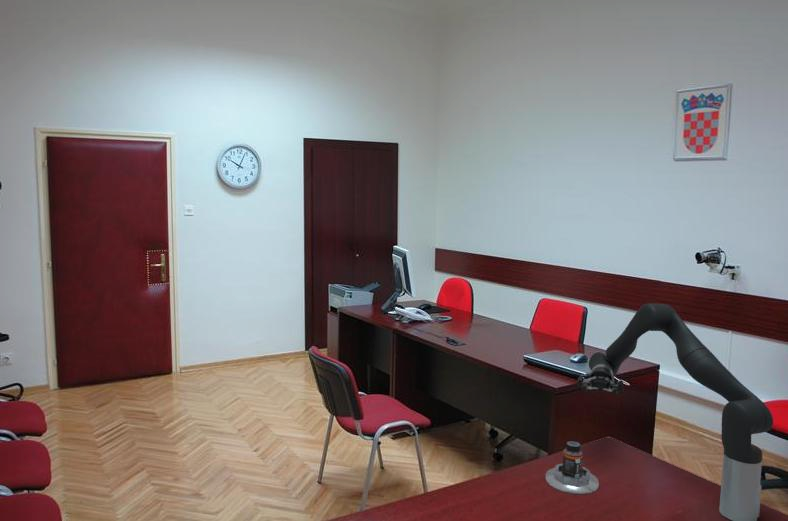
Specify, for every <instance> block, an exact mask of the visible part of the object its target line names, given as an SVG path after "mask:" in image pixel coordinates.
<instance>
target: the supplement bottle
mask: <svg viewBox="0 0 788 521" xmlns="http://www.w3.org/2000/svg"><path fill="white" fill-rule="evenodd" d="M562 452H563V453H562V464H563V470H562V474H564V475H565V476H570V477H576V478H578V477H582V466H583V462H584V461H583V460H584V453H583V451H582V450H581V444H580V443H579V442H578V441H573V440H570V441H567V442H566V447H565V448H564V449H563V451H562Z"/></svg>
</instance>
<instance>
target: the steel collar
mask: <svg viewBox="0 0 788 521" xmlns="http://www.w3.org/2000/svg"><path fill="white" fill-rule="evenodd" d="M562 470H563V463H558V464H555V467H553V468H550V469H548V470H547V471H546V472H545V482H546V483H547V484H548V485H549V486H550V487H551V488H553V489H556V490H557V491H560V492H563V493H566V494H567V493H568V494H571V495H572V494H573V495H588V494H593V493H595V492H596V491H597V490H598V489H599V487H600V482H599V479H598V477H597V476H595V475H594V474H592V473H591V471H590V470H589V469H588V468H586V467H584V466H583V465H582V477H578V478H576V477H570V476H565V475H564V474H562Z"/></svg>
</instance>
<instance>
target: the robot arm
mask: <svg viewBox="0 0 788 521" xmlns="http://www.w3.org/2000/svg"><path fill="white" fill-rule="evenodd" d="M650 331H651V332H663V333H664V334H665V335H666V336H668V338H669V339H670V340H671V341H672V342H673V344H674V345H675V348H676V349H675V350H676V351H675V352H676V356H677V359H678V362H679V363H680V365H681V367H682V368H683V369H684V370H685V371H686V372H687V373H688V375H689V376H690V377H691V378H692V379H693V380H694V381H695V382H697V383H698V384H701V385H702V386H703V387H705V388H706V389H708V390H710V391H712V392H714V393H716V394H718V395H719V396H720V397H722V398H724V399H725V400H726V401H727V403H726V404H725V405H724V407H723V409H722V413H721V437H720V438H721V443H722V446H723V454H722V455H723V457H722V467H721V468H722V469H721V480H720V482H721V484H720V498H719V514H721V516H723V517H724V518H725V519H728V520H730V521H758V518H760V513H761V512H760V511H761V510H760V509H761V499H762V489H763V488H762V484H761V477H762V464H763V463H762V462H763V451H762V449H761V448H760V447H759V446H757V445H754V444H752V435H758V434H762V433H766V432H769V431H770V430H771V429H772V428H773V425H774V417H773V414H772V412H771V410H770V409H769V407H768V406H767V405H766V403H764V401H762V400H761V399H760V398H759V397H758V396H757V395H755V394H754V393H753V392H752V391H751V390H749V389H748V388H747V387H746V386H745V385H744V384H742V382H740V380H738V378H737V377H736V376H735V375H734V374H733V373H732V372H731V371H729V369H727V367H726V366H724V365H723V364H722V362H721V361H720V360H719V359H718V358H717V356H715V354H714V353H712V351H711V350H710V349H709V348H708V347H707V346H706V345H705V344H704V343H702V342H701V340H700V339H699V338H698V337H697V336H696V335H695V334H694V333H693V331H691V329H690V328H689V327H688V326H687V324H686V323H685V322H684V320H683V319H682V318H681V317H680V315H679V314H678V312H677V311H676V310H675V309H674V308H673V307H672V306H670V305H669V304H666V303H655V302H654V303H653V302H652V303H651V302H649V303H644V304H643V305H641V306H640V307H639V309H638V310H637V311H636V312H635V314H634V316H633V317H632V319H631V320H630V321H629V323H628V324H627V326H626V327H625V329H624V330H623V331H622V333H621V334H620V335H619V336H618V337H617V338H616V339H615V340H614V341H613V342H612V343H611V344H610V345H609V346H608V347H606V350H605V353H603V352H599V351H597V352H594V353H593V354H592V355H591V356H590V358H589V359H588V360H589V361H588V367H589V369H590V374H589V377H588V378H585V377H584V376H583V375H580V376H578V378H577V381H576V382H577V383H576V384H577V385H576V386H577V387H576V388H578V389H581V390H582V391H583V392H584V393H587V391H588V390H593V389H594V390H596V391H597V392H606V391H607V392H612V394H611V395H612V396H615V395H618V392H619V393H624V381H623V380H621V379H620V380H618V381H614V378H615V376H617V374H618V372H619V369H620V367H621V365H622V364H623V363H624V362H625V361H626V360H627V359H628V358H629V357H630V356H631V355H632V354H633V353H634V351H635V350H636V348H637V344H638V340H639V338H640V337H642V335H644V334H646V333H648V332H650Z"/></svg>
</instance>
